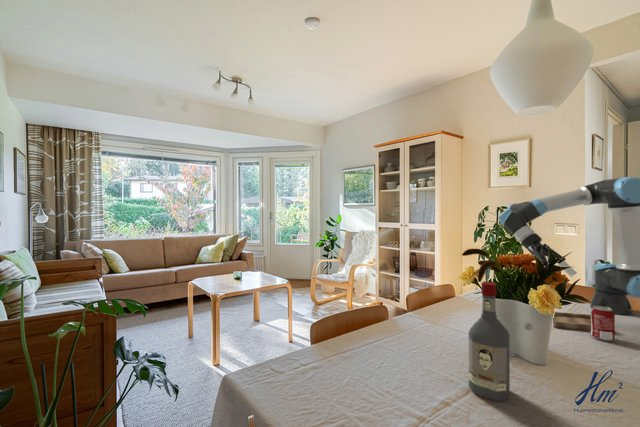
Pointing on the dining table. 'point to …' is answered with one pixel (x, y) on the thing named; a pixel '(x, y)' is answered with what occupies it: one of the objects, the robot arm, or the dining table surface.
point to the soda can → (602, 323)
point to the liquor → (489, 350)
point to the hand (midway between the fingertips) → (567, 276)
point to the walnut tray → (572, 321)
